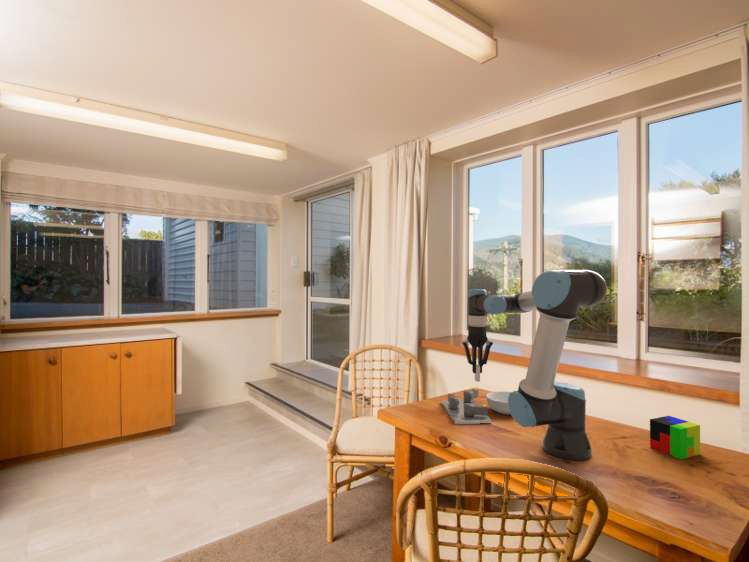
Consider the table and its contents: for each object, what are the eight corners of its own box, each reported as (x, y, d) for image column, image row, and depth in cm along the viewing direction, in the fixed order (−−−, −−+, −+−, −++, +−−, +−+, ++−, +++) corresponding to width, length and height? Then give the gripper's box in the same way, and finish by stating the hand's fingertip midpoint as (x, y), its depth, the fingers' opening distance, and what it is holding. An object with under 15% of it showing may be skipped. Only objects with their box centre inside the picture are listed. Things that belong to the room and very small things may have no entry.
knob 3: (463, 416, 166) (463, 405, 166) (463, 412, 170) (463, 402, 170) (487, 417, 164) (487, 407, 164) (487, 414, 168) (487, 404, 168)
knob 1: (460, 408, 175) (460, 399, 175) (450, 409, 175) (450, 399, 175) (455, 402, 185) (454, 392, 185) (445, 402, 185) (445, 393, 185)
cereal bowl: (478, 409, 180) (478, 393, 180) (506, 404, 187) (506, 389, 187) (505, 420, 165) (505, 404, 165) (534, 414, 172) (534, 398, 172)
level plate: (491, 423, 162) (490, 418, 162) (455, 424, 161) (455, 419, 161) (471, 402, 190) (471, 398, 190) (441, 403, 189) (441, 398, 189)
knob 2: (470, 403, 184) (470, 393, 184) (461, 401, 187) (461, 391, 187) (480, 398, 191) (480, 389, 191) (472, 396, 194) (471, 387, 194)
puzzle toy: (668, 443, 141) (668, 415, 141) (700, 454, 132) (699, 424, 132) (650, 447, 138) (649, 419, 138) (681, 459, 128) (680, 429, 128)
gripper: (489, 324, 169) (489, 378, 170) (459, 324, 169) (459, 378, 169) (495, 326, 162) (495, 382, 162) (464, 326, 162) (464, 383, 162)
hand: (477, 380), depth 166 cm, fingers closed
